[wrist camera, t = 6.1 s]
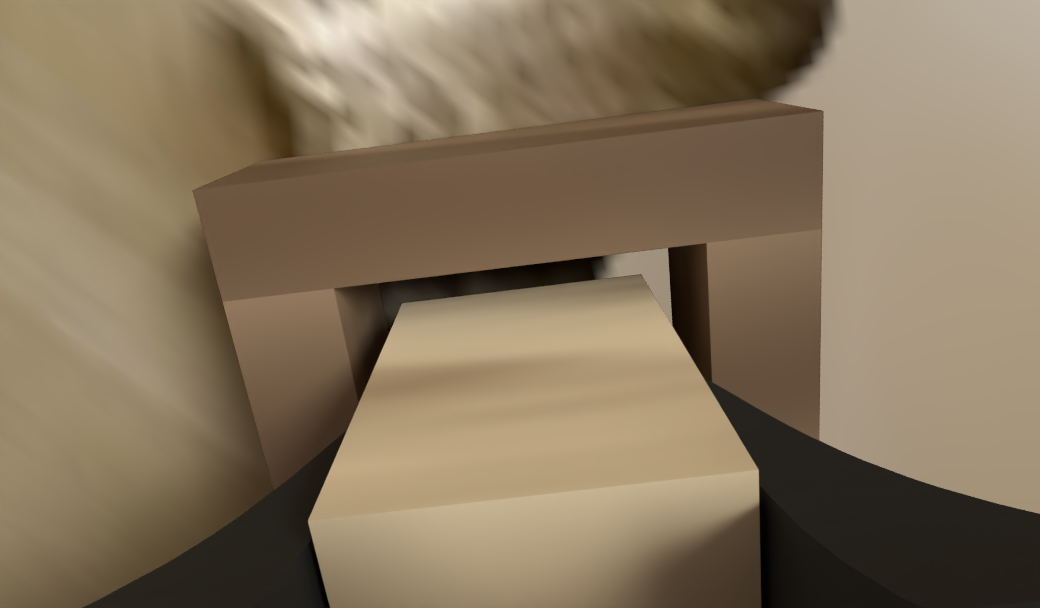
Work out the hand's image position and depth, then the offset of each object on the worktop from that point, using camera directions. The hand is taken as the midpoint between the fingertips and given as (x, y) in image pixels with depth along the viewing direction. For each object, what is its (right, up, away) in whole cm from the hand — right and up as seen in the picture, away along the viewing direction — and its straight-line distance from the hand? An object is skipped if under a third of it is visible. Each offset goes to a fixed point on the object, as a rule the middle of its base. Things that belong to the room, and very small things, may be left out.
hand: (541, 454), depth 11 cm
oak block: (0, +1, +2) cm, 2 cm away
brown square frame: (0, +1, +3) cm, 4 cm away
